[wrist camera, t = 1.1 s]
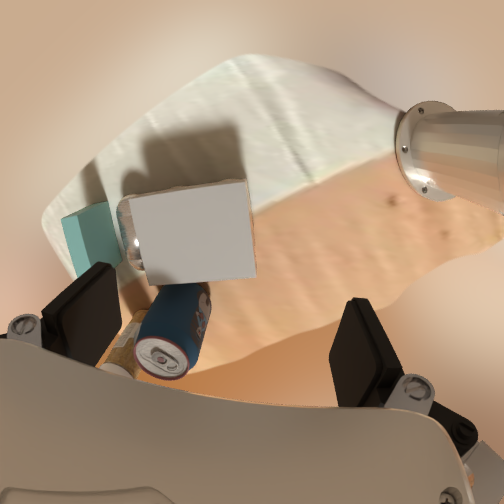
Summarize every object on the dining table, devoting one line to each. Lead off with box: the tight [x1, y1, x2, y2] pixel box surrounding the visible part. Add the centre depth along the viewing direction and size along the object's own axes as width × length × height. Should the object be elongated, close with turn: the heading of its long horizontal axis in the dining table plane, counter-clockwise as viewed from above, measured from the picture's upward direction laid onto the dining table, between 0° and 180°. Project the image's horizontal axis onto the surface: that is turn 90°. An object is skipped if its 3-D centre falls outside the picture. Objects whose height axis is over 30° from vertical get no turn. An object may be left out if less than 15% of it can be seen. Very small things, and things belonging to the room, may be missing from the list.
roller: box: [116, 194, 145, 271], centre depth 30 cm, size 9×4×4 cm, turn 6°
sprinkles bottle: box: [99, 310, 148, 379], centre depth 31 cm, size 5×5×13 cm
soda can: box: [133, 283, 211, 381], centre depth 30 cm, size 7×7×12 cm
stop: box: [61, 201, 122, 277], centre depth 30 cm, size 2×8×7 cm, turn 6°
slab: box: [129, 179, 257, 286], centre depth 27 cm, size 11×9×2 cm
